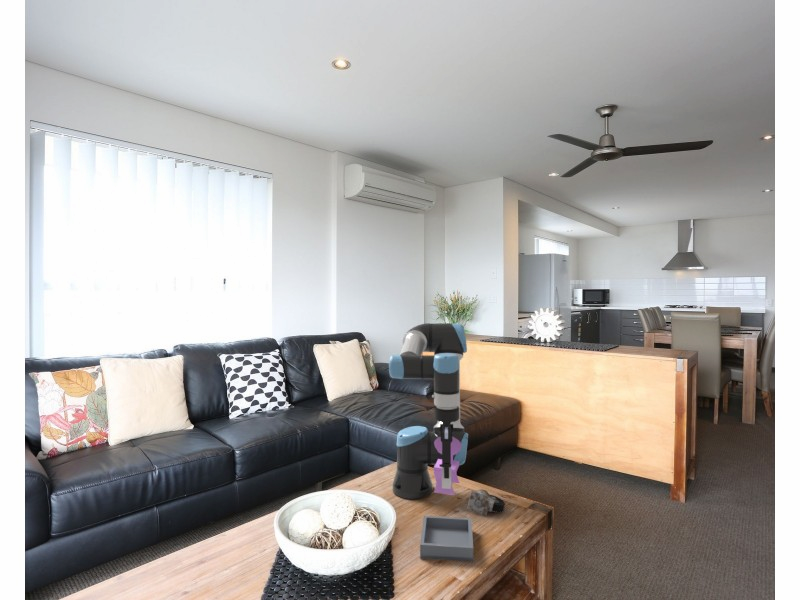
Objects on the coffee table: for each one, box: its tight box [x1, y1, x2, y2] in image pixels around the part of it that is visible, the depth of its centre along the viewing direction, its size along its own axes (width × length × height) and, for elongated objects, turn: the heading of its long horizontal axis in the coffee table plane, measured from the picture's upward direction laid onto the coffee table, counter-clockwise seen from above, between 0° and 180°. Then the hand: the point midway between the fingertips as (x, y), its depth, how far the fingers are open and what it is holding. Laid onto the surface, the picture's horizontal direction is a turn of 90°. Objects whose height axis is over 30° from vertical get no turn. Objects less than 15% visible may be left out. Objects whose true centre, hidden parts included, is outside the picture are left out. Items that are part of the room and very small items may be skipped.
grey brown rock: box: [466, 489, 506, 517], centre depth 155 cm, size 7×11×10 cm
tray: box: [419, 515, 474, 563], centre depth 135 cm, size 16×15×4 cm
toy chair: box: [433, 436, 461, 496], centre depth 134 cm, size 8×9×15 cm
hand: (446, 480), depth 134 cm, fingers closed on toy chair, 9 cm apart
